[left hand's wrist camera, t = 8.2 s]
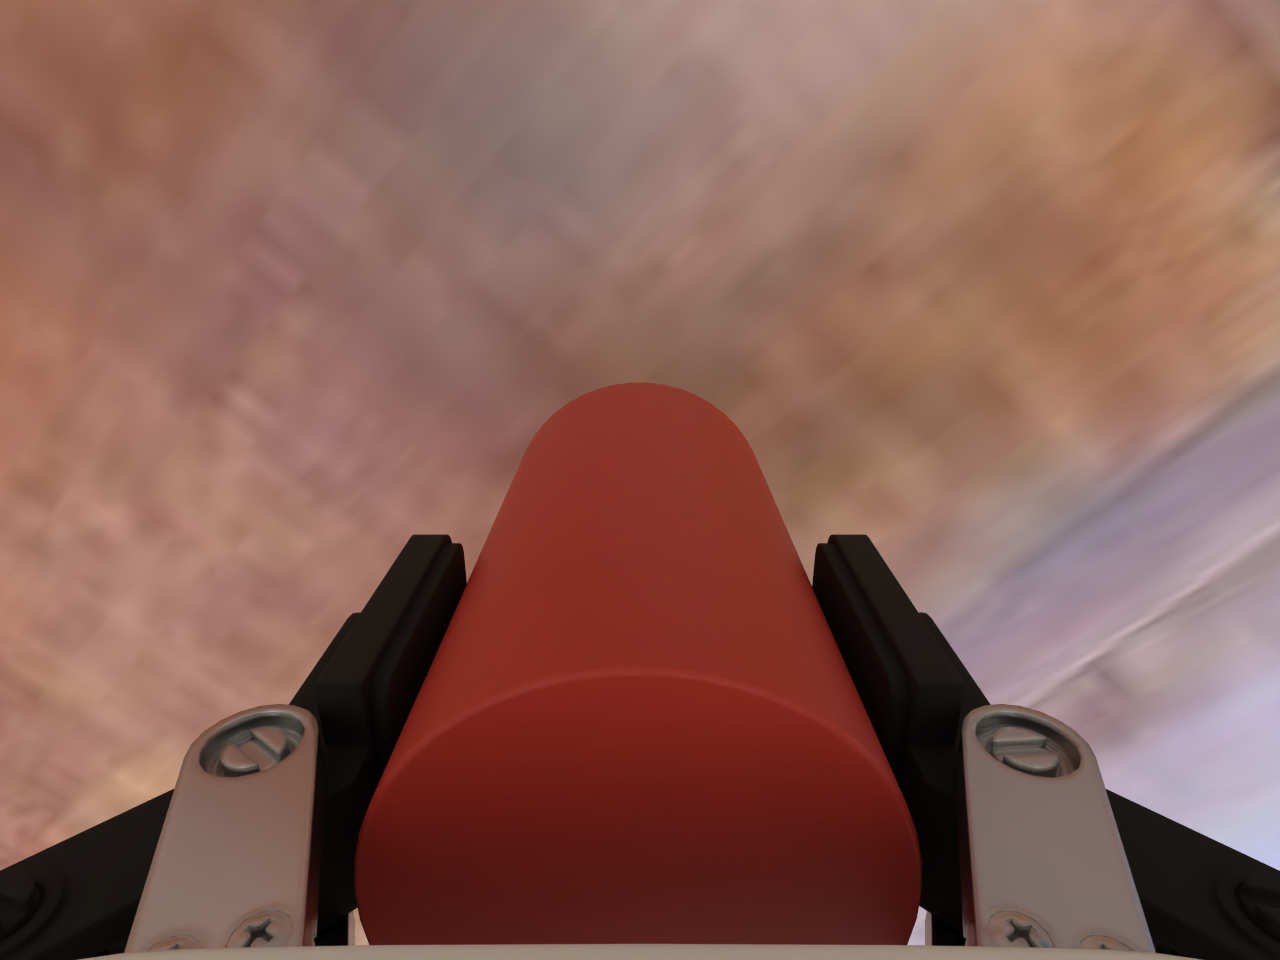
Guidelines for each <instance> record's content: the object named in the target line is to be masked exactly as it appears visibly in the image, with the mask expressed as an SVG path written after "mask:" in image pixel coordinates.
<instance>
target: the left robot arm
mask: <svg viewBox="0 0 1280 960" xmlns="http://www.w3.org/2000/svg"><path fill="white" fill-rule="evenodd" d="M466 585H467V581H466V571H465V560H464V551H463V547H462V545H461V544H460V543H452V542H451V538H450V536H449V535H413V536H412V537H411V538H410V539H409V541H408V542H407V544H406V545H405V547H404V548H403V550H402V551H401V553H400V554H399V556H398V557H397V559H396V560H395V562H394V563H393V565H392V566H391V568H390V569H389V571H388V573H387V574H386V576H385V577H384V579H383V580H382V582H381V583H380V585H379V586H378V588H377V589H376V591H375V592H374V594H373V595H372V597H371V598H370V600H369V601H368V603H367V604H366V606H365V607H364V609H363V610H362V612H361V613H353V614H352V615H351V616H350V617H349V618H348V619H347V620H346V622H345V623H344V625H343V626H342V628H341V629H340V631H339V632H338V633H337V635H336V636H335V638H334V639H333V641H332V642H331V644H330V645H329V647H328V648H327V650H326V651H325V652H324V654H323V655H322V657H321V658H320V660H319V661H318V663H317V664H316V666H315V667H314V669H313V670H312V672H311V673H310V674H309V676H308V677H307V679H306V680H305V682H304V683H303V685H302V686H301V688H300V689H299V691H298V692H297V693H296V695H295V696H294V698H293V699H292V701H291V702H290V704H289V705H284V704H274V705H265V706H258V707H255V708H251V709H248V710H244V711H240V712H238V713H236V714H234V715H231V716H229V717H227V718H225V719H222V720H221V721H219V722H217V723H216V724H214V725H213V726H211V727H210V728H208V729H207V730H205V731H204V732H203V733H202V734H201V735H200V736H199V737H198V738H197V739H196V740H195V741H194V742H193V743H192V744H191V746H190V748H189V749H188V751H187V753H186V755H185V757H184V760H183V763H182V766H181V770H180V773H179V776H178V779H177V783H176V786H175V789H172V790H170V791H168V792H166V793H164V794H162V795H160V796H158V797H156V798H153V799H151V800H149V801H147V802H145V803H143V804H141V805H139V806H136V807H134V808H132V809H130V810H128V811H126V812H124V813H122V814H120V815H117V816H115V817H113V818H111V819H109V820H107V821H105V822H103V823H100V824H98V825H96V826H94V827H92V828H90V829H88V830H86V831H83V832H81V833H79V834H77V835H75V836H73V837H71V838H69V839H67V840H64V841H62V842H60V843H58V844H56V845H54V846H52V847H50V848H47V849H45V850H43V851H41V852H39V853H37V854H35V855H33V856H31V857H28V858H26V859H24V860H22V861H20V862H18V863H16V864H14V865H11V866H9V867H7V868H5V869H3V870H1V871H0V960H1280V871H1279V870H1277V869H1275V868H1272V867H1270V866H1268V865H1266V864H1264V863H1262V862H1260V861H1258V860H1255V859H1253V858H1251V857H1249V856H1247V855H1245V854H1243V853H1241V852H1238V851H1236V850H1234V849H1232V848H1230V847H1228V846H1226V845H1224V844H1222V843H1219V842H1217V841H1215V840H1213V839H1211V838H1209V837H1207V836H1205V835H1202V834H1200V833H1198V832H1196V831H1194V830H1192V829H1190V828H1188V827H1185V826H1183V825H1181V824H1179V823H1177V822H1175V821H1173V820H1171V819H1168V818H1166V817H1164V816H1162V815H1160V814H1158V813H1156V812H1154V811H1152V810H1149V809H1147V808H1145V807H1143V806H1141V805H1139V804H1137V803H1135V802H1132V801H1130V800H1128V799H1126V798H1124V797H1122V796H1120V795H1118V794H1115V793H1113V792H1111V791H1109V790H1107V789H1105V786H1104V783H1103V779H1102V776H1101V773H1100V770H1099V766H1098V763H1097V760H1096V757H1095V755H1094V753H1093V751H1092V749H1091V748H1090V746H1089V744H1088V743H1087V742H1086V741H1085V740H1084V739H1083V738H1082V737H1081V736H1080V735H1079V734H1078V733H1077V732H1076V731H1075V730H1073V729H1072V728H1070V727H1069V726H1067V725H1066V724H1064V723H1063V722H1061V721H1059V720H1058V719H1055V718H1053V717H1051V716H1049V715H1046V714H1044V713H1042V712H1040V711H1036V710H1032V709H1029V708H1025V707H1022V706H1015V705H1006V704H996V705H990V703H989V702H988V700H987V699H986V697H985V696H984V694H983V693H982V691H981V690H980V689H979V687H978V686H977V684H976V683H975V681H974V680H973V678H972V677H971V675H970V674H969V672H968V671H967V670H966V668H965V667H964V665H963V664H962V662H961V661H960V659H959V658H958V656H957V655H956V653H955V652H954V651H953V649H952V648H951V646H950V645H949V643H948V642H947V640H946V639H945V637H944V636H943V634H942V633H941V632H940V630H939V629H938V627H937V626H936V624H935V623H934V621H933V620H932V618H931V617H930V616H929V615H928V614H927V613H918V611H917V610H916V608H915V607H914V605H913V604H912V602H911V601H910V599H909V598H908V596H907V595H906V593H905V592H904V590H903V589H902V587H901V586H900V584H899V583H898V581H897V580H896V578H895V577H894V575H893V574H892V572H891V571H890V569H889V568H888V566H887V564H886V563H885V561H884V560H883V558H882V557H881V555H880V554H879V552H878V551H877V549H876V548H875V546H874V545H873V543H872V542H871V540H870V539H869V537H868V536H867V535H831V536H830V537H829V539H828V543H819V544H818V545H817V548H816V553H815V563H814V574H813V585H812V588H813V590H814V593H815V595H816V597H817V600H818V602H819V604H820V607H821V609H822V611H823V613H824V616H825V618H826V620H827V623H828V625H829V627H830V629H831V632H832V634H833V636H834V639H835V641H836V643H837V646H838V648H839V650H840V652H841V655H842V657H843V659H844V662H845V664H846V666H847V668H848V671H849V673H850V675H851V678H852V680H853V682H854V685H855V687H856V689H857V691H858V694H859V696H860V698H861V701H862V703H863V705H864V707H865V710H866V712H867V714H868V717H869V719H870V721H871V724H872V726H873V728H874V730H875V733H876V735H877V737H878V740H879V742H880V744H881V746H882V749H883V751H884V753H885V756H886V758H887V760H888V763H889V765H890V767H891V769H892V772H893V774H894V776H895V779H896V781H897V783H898V785H899V788H900V790H901V792H902V795H903V797H904V799H905V802H906V804H907V806H908V809H909V812H910V815H911V817H912V820H913V823H914V825H915V828H916V831H917V835H918V841H919V847H920V852H921V858H922V890H921V897H920V903H919V906H921V907H922V908H924V909H925V910H927V914H926V919H925V946H918V945H772V944H508V945H362V946H355V919H354V914H353V910H354V909H356V908H357V907H358V906H357V901H356V895H355V865H354V860H355V854H356V848H357V842H358V837H359V832H360V829H361V826H362V823H363V821H364V818H365V815H366V812H367V810H368V807H369V804H370V802H371V800H372V797H373V795H374V793H375V791H376V788H377V786H378V784H379V782H380V779H381V777H382V775H383V773H384V770H385V768H386V766H387V763H388V761H389V759H390V757H391V754H392V752H393V750H394V748H395V745H396V743H397V741H398V739H399V736H400V734H401V732H402V730H403V727H404V725H405V723H406V721H407V718H408V716H409V714H410V712H411V709H412V707H413V705H414V702H415V700H416V698H417V696H418V693H419V691H420V689H421V687H422V684H423V682H424V680H425V678H426V675H427V673H428V671H429V669H430V666H431V664H432V662H433V660H434V657H435V655H436V653H437V650H438V648H439V646H440V644H441V641H442V639H443V637H444V635H445V632H446V630H447V628H448V626H449V623H450V621H451V619H452V617H453V614H454V612H455V610H456V608H457V605H458V603H459V601H460V599H461V596H462V594H463V592H464V589H465V587H466Z"/></svg>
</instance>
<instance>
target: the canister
mask: <svg viewBox="0 0 1280 960" xmlns="http://www.w3.org/2000/svg"><path fill="white" fill-rule="evenodd" d="M354 865H355V895H356V901H357V906H358V911H359V917H360V921H361V923H362V926H363V929H364V932H365V934H366V937H367V940H368V942H369V945H508V944H772V945H907V944H908V941H909V938H910V936H911V933H912V930H913V927H914V925H915V922H916V919H917V913H918V908H919V903H920V897H921V890H922V858H921V852H920V847H919V841H918V835H917V831H916V828H915V825H914V823H913V820H912V817H911V815H910V812H909V809H908V806H907V804H906V802H905V799H904V797H903V795H902V792H901V790H900V788H899V785H898V783H897V781H896V779H895V776H894V774H893V772H892V769H891V767H890V765H889V763H888V760H887V758H886V756H885V753H884V751H883V749H882V746H881V744H880V742H879V740H878V737H877V735H876V733H875V730H874V728H873V726H872V724H871V721H870V719H869V717H868V714H867V712H866V710H865V707H864V705H863V703H862V701H861V698H860V696H859V694H858V691H857V689H856V687H855V685H854V682H853V680H852V678H851V675H850V673H849V671H848V668H847V666H846V664H845V662H844V659H843V657H842V655H841V652H840V650H839V648H838V646H837V643H836V641H835V639H834V636H833V634H832V632H831V629H830V627H829V625H828V623H827V620H826V618H825V616H824V613H823V611H822V609H821V607H820V604H819V602H818V600H817V597H816V595H815V593H814V590H813V588H812V586H811V584H810V581H809V579H808V577H807V574H806V572H805V570H804V567H803V565H802V563H801V561H800V558H799V556H798V554H797V551H796V549H795V547H794V545H793V542H792V540H791V538H790V535H789V533H788V531H787V528H786V526H785V524H784V522H783V519H782V517H781V515H780V512H779V510H778V508H777V506H776V503H775V501H774V499H773V496H772V494H771V492H770V489H769V487H768V485H767V483H766V480H765V478H764V476H763V473H762V471H761V469H760V467H759V464H758V462H757V460H756V457H755V455H754V453H753V451H752V449H751V447H750V445H749V444H748V442H747V440H746V438H745V437H744V436H743V434H742V433H741V432H740V430H739V429H738V428H737V426H736V425H735V424H734V423H733V422H732V421H731V420H730V419H729V418H728V417H727V416H726V415H725V414H724V413H723V412H721V411H720V410H719V409H717V408H716V407H715V406H713V405H712V404H710V403H709V402H707V401H705V400H703V399H702V398H700V397H698V396H696V395H694V394H691V393H689V392H686V391H684V390H681V389H678V388H674V387H670V386H666V385H660V384H652V383H626V384H618V385H612V386H608V387H604V388H601V389H597V390H594V391H592V392H590V393H587V394H585V395H582V396H580V397H579V398H577V399H575V400H573V401H572V402H570V403H568V404H566V405H565V406H564V407H563V408H561V409H560V410H559V411H557V412H556V413H555V414H553V415H552V416H551V417H550V418H549V420H548V421H547V422H546V423H545V424H544V425H543V426H542V427H541V428H540V430H539V431H538V432H537V434H536V435H535V436H534V438H533V439H532V441H531V443H530V444H529V446H528V448H527V450H526V452H525V454H524V456H523V458H522V461H521V463H520V465H519V467H518V470H517V472H516V474H515V476H514V479H513V481H512V483H511V486H510V488H509V490H508V492H507V495H506V497H505V499H504V501H503V504H502V506H501V508H500V510H499V513H498V515H497V517H496V519H495V522H494V524H493V526H492V528H491V531H490V533H489V535H488V537H487V540H486V542H485V544H484V547H483V549H482V551H481V553H480V556H479V558H478V560H477V562H476V565H475V567H474V569H473V571H472V574H471V576H470V578H469V580H468V583H467V585H466V587H465V589H464V592H463V594H462V596H461V599H460V601H459V603H458V605H457V608H456V610H455V612H454V614H453V617H452V619H451V621H450V623H449V626H448V628H447V630H446V632H445V635H444V637H443V639H442V641H441V644H440V646H439V648H438V650H437V653H436V655H435V657H434V660H433V662H432V664H431V666H430V669H429V671H428V673H427V675H426V678H425V680H424V682H423V684H422V687H421V689H420V691H419V693H418V696H417V698H416V700H415V702H414V705H413V707H412V709H411V712H410V714H409V716H408V718H407V721H406V723H405V725H404V727H403V730H402V732H401V734H400V736H399V739H398V741H397V743H396V745H395V748H394V750H393V752H392V754H391V757H390V759H389V761H388V763H387V766H386V768H385V770H384V773H383V775H382V777H381V779H380V782H379V784H378V786H377V788H376V791H375V793H374V795H373V797H372V800H371V802H370V804H369V807H368V810H367V812H366V815H365V818H364V821H363V823H362V826H361V829H360V832H359V837H358V842H357V848H356V854H355V860H354Z"/></svg>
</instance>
